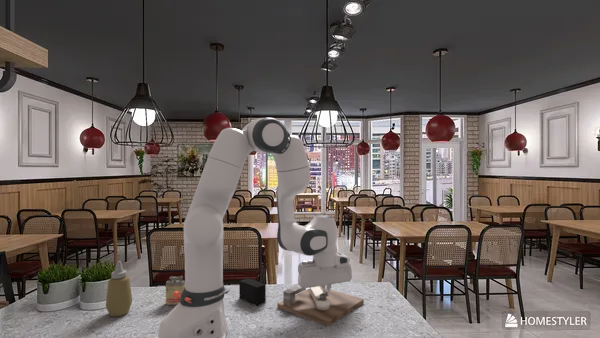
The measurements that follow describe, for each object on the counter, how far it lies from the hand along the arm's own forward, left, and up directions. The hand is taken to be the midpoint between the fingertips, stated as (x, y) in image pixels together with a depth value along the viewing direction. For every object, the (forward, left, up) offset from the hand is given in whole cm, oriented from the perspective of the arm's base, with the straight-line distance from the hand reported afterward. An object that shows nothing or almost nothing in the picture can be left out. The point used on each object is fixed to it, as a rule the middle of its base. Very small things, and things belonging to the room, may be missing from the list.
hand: (325, 296), depth 121 cm
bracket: (-16, +43, -4) cm, 46 cm away
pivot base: (-2, +1, -3) cm, 4 cm away
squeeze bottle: (-51, +51, -3) cm, 72 cm away
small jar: (-34, +44, -3) cm, 56 cm away
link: (-2, +2, -1) cm, 3 cm away
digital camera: (-14, +23, -3) cm, 27 cm away
